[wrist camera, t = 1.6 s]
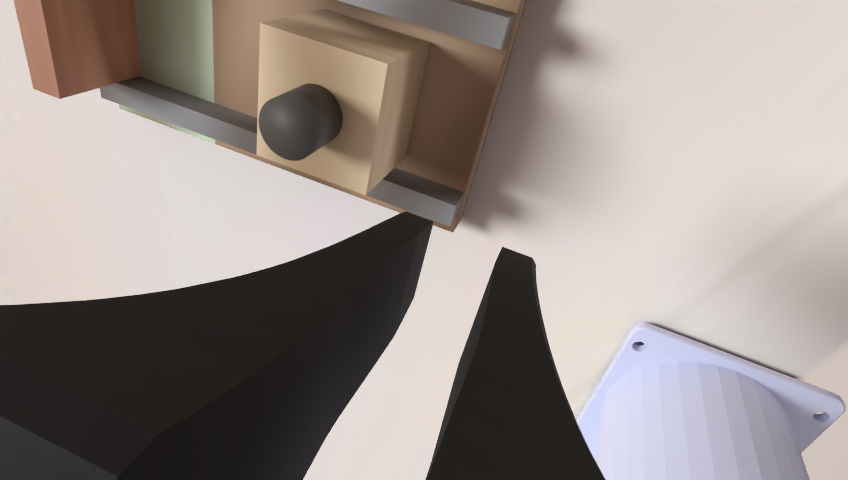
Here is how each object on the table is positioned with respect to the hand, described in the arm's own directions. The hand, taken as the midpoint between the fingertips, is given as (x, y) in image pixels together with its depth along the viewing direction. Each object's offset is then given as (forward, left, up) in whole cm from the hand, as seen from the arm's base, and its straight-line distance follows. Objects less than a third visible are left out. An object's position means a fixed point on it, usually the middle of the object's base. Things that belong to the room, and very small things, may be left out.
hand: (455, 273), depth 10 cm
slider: (0, +6, -9) cm, 10 cm away
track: (0, +9, -10) cm, 14 cm away
